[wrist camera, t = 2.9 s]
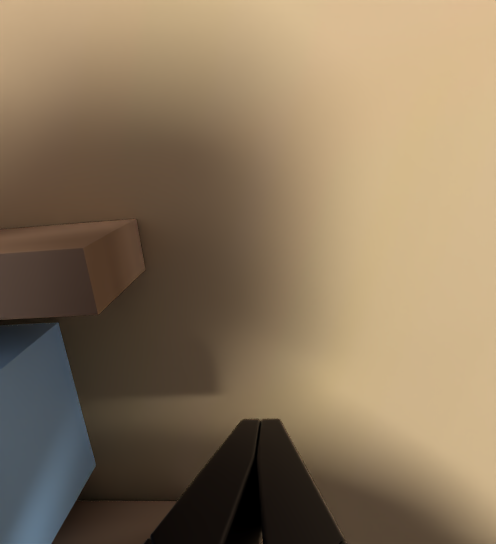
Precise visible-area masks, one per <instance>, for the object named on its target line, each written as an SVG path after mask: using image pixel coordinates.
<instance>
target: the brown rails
mask: <svg viewBox="0 0 496 544" xmlns="http://www.w3.org/2000/svg"><path fill="white" fill-rule="evenodd" d="M144 271H145V264H144V259H143V253H142V247H141V242H140V236H139V231H138V225H137V220H136V219H126V220H114V221H101V222H88V223H75V224H62V225H49V226H36V227H23V228H10V229H0V320H6V319H26V318H46V317H66V316H86V315H99V314H100V313H101V312H102V311H103V310H104V309H105V308H106V307H107V306H108V305H109V304H110V303H111V302H112V301H113V300H114V299H115V298H116V297H117V296H118V295H120V294H121V293H122V292H123V291H124V290H125V289H126V288H127V287H128V286H129V285H130V284H131V283H132V282H133V281H134V280H135V279H136V278H137V277H138V276H139V275H141V274H142V273H143V272H144ZM176 502H177V501H76V502H75V503H74V505H73V507H72V509H71V510H70V512H69V514H68V515H67V517H66V519H65V521H64V522H63V524H62V526H61V528H60V529H59V531H58V533H57V535H56V536H55V538H54V540H53V542H52V543H51V544H143V543H144V542H145V541H146V539H148V538H150V535H151V533H152V532H153V531H154V530H155V528H156V527H157V526H158V525H159V523H160V522H161V521H162V520H163V518H164V517H165V516H166V515H167V513H168V512H169V511H170V510H171V508H172V507H173V506H174V504H175V503H176Z"/></svg>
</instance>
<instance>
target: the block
mask: <svg viewBox="0 0 496 544" xmlns="http://www.w3.org/2000/svg"><path fill="white" fill-rule="evenodd" d="M95 467H96V463H95V459H94V455H93V452H92V448H91V444H90V440H89V437H88V433H87V429H86V425H85V421H84V418H83V414H82V410H81V406H80V402H79V399H78V395H77V391H76V387H75V384H74V380H73V376H72V372H71V368H70V365H69V361H68V357H67V353H66V350H65V346H64V342H63V338H62V334H61V331H60V327H59V323H58V322H56V323H36V324H15V325H0V544H51V543H52V542H53V540H54V538H55V536H56V535H57V533H58V531H59V529H60V528H61V526H62V524H63V522H64V521H65V519H66V517H67V515H68V514H69V512H70V510H71V509H72V507H73V505H74V503H75V502H76V500H77V498H78V496H79V495H80V493H81V491H82V489H83V488H84V486H85V484H86V482H87V481H88V479H89V477H90V475H91V474H92V472H93V470H94V468H95Z"/></svg>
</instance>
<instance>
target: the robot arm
mask: <svg viewBox="0 0 496 544" xmlns="http://www.w3.org/2000/svg"><path fill="white" fill-rule="evenodd" d="M262 538H263V544H348V543H347V542H346V541H345V538H344V536H343V534H342V532H341V531H340V529H339V527H338V525H337V523H336V521H335V519H334V518H333V516H332V514H331V512H330V510H329V508H328V507H327V505H326V503H325V501H324V499H323V497H322V495H321V494H320V492H319V490H318V488H317V486H316V484H315V483H314V481H313V479H312V477H311V475H310V473H309V471H308V470H307V468H306V466H305V464H304V462H303V460H302V459H301V457H300V455H299V453H298V451H297V449H296V447H295V446H294V444H293V442H292V440H291V438H290V436H289V435H288V433H287V431H286V429H285V427H284V425H283V423H282V422H281V420H280V419H277V418H274V419H263V420H262V421H260V420H259V419H243V420H241V421H240V423H239V424H238V425H237V426H236V428H235V429H234V430H233V431H232V433H231V434H230V435H229V436H228V438H227V439H226V440H225V441H224V443H223V444H222V445H221V447H220V448H219V449H218V450H217V452H216V453H215V454H214V455H213V457H212V458H211V459H210V460H209V462H208V463H207V464H206V465H205V467H204V468H203V469H202V470H201V472H200V473H199V474H198V475H197V477H196V478H195V479H194V481H193V482H192V483H191V484H190V486H189V487H188V488H187V489H186V491H185V492H184V493H183V494H182V496H181V497H180V498H179V499H178V501H177V502H176V503H175V504H174V506H173V507H172V508H171V510H170V511H169V512H168V513H167V515H166V516H165V517H164V518H163V520H162V521H161V522H160V523H159V525H158V526H157V527H156V528H155V530H154V531H153V532H152V533H151V535H150V538H148V539H146V541H145V542H144V543H143V544H261V543H262Z"/></svg>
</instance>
